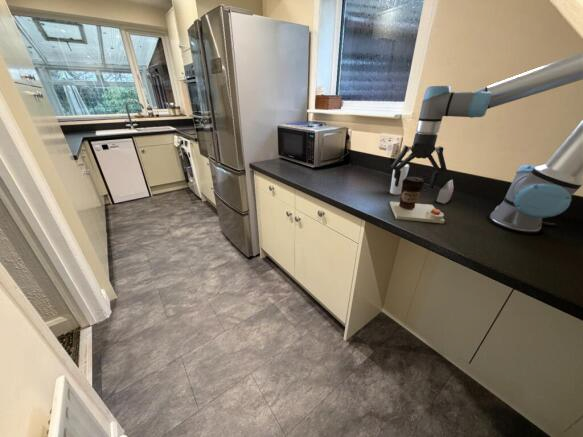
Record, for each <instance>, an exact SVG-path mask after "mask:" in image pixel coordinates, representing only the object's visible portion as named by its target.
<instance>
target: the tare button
mask: <svg viewBox="0 0 583 437" xmlns="http://www.w3.org/2000/svg"><path fill="white" fill-rule="evenodd" d="M440 212H441V209H438V208H435V209H432V211H431V213H432V214H435V215H439V214H440Z"/></svg>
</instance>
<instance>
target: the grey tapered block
mask: <svg viewBox="0 0 583 437" xmlns="http://www.w3.org/2000/svg"><path fill="white" fill-rule="evenodd" d="M454 190H455V189H454V180H453V179H450V180H449V181H447V182H446V184H444V186H443V187H442V188H441V189H439V192H438V195H437V197H436V202H437V203H441V204H447V203H448V202H449V201H450V200H451V198H452V196H453V193H454Z"/></svg>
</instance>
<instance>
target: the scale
mask: <svg viewBox="0 0 583 437" xmlns="http://www.w3.org/2000/svg"><path fill="white" fill-rule="evenodd" d="M399 204H400V201H389V206H390V208H391V210H392V213H393V215H394V218H395V219H396V220H403V221H412V222H413V221H415V222H423V223H425V222H426V223H435V224H445V222H446V221H445V219H444V216H445V214H444V213H443V211H440V214H439V215H435V214H432V213H431V211H432V209H436V207H435V206H434V205H433V204H428V203H427V204H426V203H417V202H416V203H415V208H414V209H404V208H401V207H400V206H399Z"/></svg>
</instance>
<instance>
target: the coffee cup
mask: <svg viewBox="0 0 583 437" xmlns="http://www.w3.org/2000/svg"><path fill="white" fill-rule="evenodd" d="M402 182H403V183H402V190H401V194H400V195H399V202H400V204H399V206H400V207H401V208H404V209H414V208H415V203H416V204H417V201H418V199H419V197H420V195H421V191H422V189H423V187H424V186H425V181H424V179H423V177H419V176H407V177H406V178H405V179H404V180H403V181H402Z"/></svg>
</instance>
